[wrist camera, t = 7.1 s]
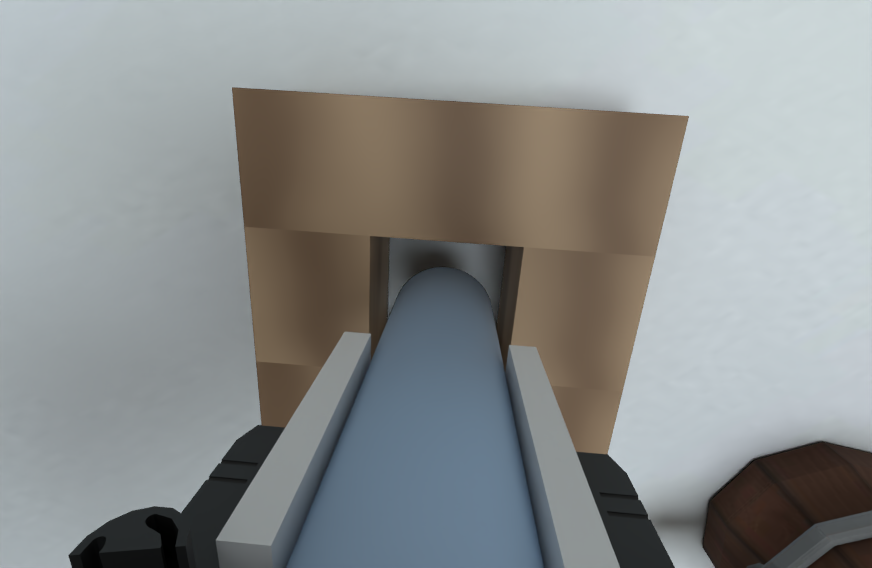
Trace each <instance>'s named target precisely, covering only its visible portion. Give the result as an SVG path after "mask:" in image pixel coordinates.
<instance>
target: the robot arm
mask: <svg viewBox="0 0 872 568" xmlns="http://www.w3.org/2000/svg"><path fill="white" fill-rule="evenodd" d="M370 362H371V334H368V333H356V332H344V334H343V335H342V337H341V338H340V340H339V342H338V343H337V345H336V346H335V348H334V350H333V351H332V353H331V355H330V356H329V358H328V359H327V361H326V363H325V364H324V366H323V367H322V369H321V371H320V372H319V374H318V376H317V377H316V379H315V380H314V382H313V384H312V385H311V387H310V389H309V390H308V392H307V393H306V395H305V397H304V398H303V400H302V401H301V403H300V405H299V406H298V408H297V410H296V411H295V413H294V414H293V416H292V418H291V419H290V421H289V422H288V424H287V426H286V427H274V426H263V425H257V426H256V427H254V428H253V429H252V430H250V431H249V432H247V433H246V434H245V435H243V436H242V437H240V438H239V439H238V440H236V442H235V443H234V444H233V445H232V447H231V448H230V449H229V451H228V452H227V453H226V455H225V456H224V457H223V459H222V462H221V464H220V463H219V464H218V465H217V467H216V468H215V469H214V471H213V472H212V473H211V475H210V476H209V480H206V481H205V482H204V484H203V485H202V486H201V488H200V489H199V490H198V492H197V493H196V494H195V496H194V497H193V498H192V500H191V501H190V502H189V504H188V505H187V506H186V507H185V509H184V510H183V511H182V513H180V512H178V511H176V510H175V509H173V508H165V507H155V506H154V507H149V508H144V509H139V510H134V511H131V512H129V513H127V514H124V515H122V516H120V517H117V518H115V519H113V520H110V521H108V522H107V523H106V524H104V525H103V526H101V527H100V528H98V529H97V530H95V531H94V532H92V533H91V534H89V535H88V536H87V537H86V538H85V539H84V540H83V541H82V542H81V543H80V544H79V545H78V546H77V547H76V548H75V549H74V550H73V551H72V552H71V553H70V554H69V559H70V562H71V565H72V568H286V566H287V564H288V561H289V559H290V556H291V554H292V552H293V549H294V547H295V544H296V542H297V539H298V537H299V535H300V532H301V530H302V527H303V525H304V522H305V520H306V518H307V515H308V513H309V510H310V508H311V505H312V503H313V501H314V498H315V496H316V493H317V491H318V488H319V486H320V484H321V481H322V479H323V476H324V474H325V471H326V469H327V467H328V464H329V462H330V459H331V457H332V454H333V452H334V450H335V447H336V445H337V442H338V440H339V437H340V435H341V433H342V430H343V428H344V425H345V423H346V420H347V418H348V416H349V413H350V411H351V408H352V406H353V403H354V401H355V399H356V396H357V394H358V391H359V389H360V386H361V384H362V382H363V379H364V377H365V374H366V372H367V369H368V367H369V365H370ZM505 375H506V380H507V385H508V390H509V395H510V400H511V404H512V409H513V414H514V419H515V424H516V429H517V434H518V439H519V444H520V449H521V454H522V459H523V464H524V469H525V474H526V479H527V484H528V489H529V493H530V498H531V503H532V508H533V513H534V518H535V523H536V528H537V533H538V538H539V543H540V548H541V553H542V558H543V563H544V568H675V567H674V565H673V563H672V561H671V559H670V557H669V555H668V553H667V551H666V550H665V548H664V546H663V544H662V542H661V540H660V538H659V536H658V534H657V532H656V530H655V528H654V526H653V524H652V522H651V520H648V514H647V512H646V510H645V508H644V506H643V505H642V503H641V501H640V500H638V495H637V493H636V491H635V489H634V487H633V485H632V483H631V481H630V479H629V477H628V475H627V473H626V472H625V471H624V470H623V469H622V468H621V467H620V466H619V465H618V464H617V463H616V462H615V461H614V460H613V459H612V458H611V457H610V456H609V455H608V454H597V453H586V452H576V451H575V448H574V445H573V443H572V440H571V437H570V435H569V432H568V430H567V427H566V424H565V422H564V419H563V416H562V414H561V411H560V409H559V406H558V403H557V401H556V398H555V395H554V393H553V390H552V388H551V385H550V382H549V380H548V377H547V374H546V372H545V369H544V367H543V364H542V361H541V359H540V356H539V354H538V351H537V348H536V347H529V346H517V345H509V349H508V357H507V364H506V372H505Z"/></svg>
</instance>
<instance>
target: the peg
mask: <svg viewBox="0 0 872 568" xmlns="http://www.w3.org/2000/svg"><path fill="white" fill-rule="evenodd" d="M286 568H544V563H543V558H542V553H541V548H540V543H539V538H538V533H537V528H536V523H535V518H534V513H533V508H532V503H531V498H530V493H529V489H528V484H527V479H526V474H525V469H524V464H523V459H522V454H521V449H520V444H519V439H518V434H517V429H516V424H515V419H514V414H513V409H512V404H511V400H510V395H509V390H508V385H507V380H506V375H505V370H504V365H503V360H502V355H501V350H500V345H499V340H498V335H497V330H496V325H495V320H494V316H493V311H492V306H491V302H490V299H489V296H488V294H487V292H486V290H485V289H484V287H483V286H482V285H481V284H480V283H479V282H478V281H477V280H476V279H475V278H474V277H472V276H471V275H469V274H467V273H466V272H463V271H461V270H458V269H454V268H448V267H438V268H431V269H427V270H425V271H422V272H420V273H418V274H416V275H415V276H413V277H412V278H411V279H409V280H408V281H407V282H406V283H405V285H404V286H403V287H402V289H401V290H400V292H399V294H398V296H397V299H396V301H395V304H394V306H393V309H392V311H391V313H390V316H389V318H388V321H387V323H386V326H385V328H384V331H383V333H382V335H381V338H380V340H379V343H378V345H377V348H376V350H375V352H374V355H373V357H372V360H371V362H370V365H369V367H368V369H367V372H366V374H365V377H364V379H363V382H362V384H361V386H360V389H359V391H358V394H357V396H356V399H355V401H354V403H353V406H352V408H351V411H350V413H349V416H348V418H347V420H346V423H345V425H344V428H343V430H342V433H341V435H340V437H339V440H338V442H337V445H336V447H335V450H334V452H333V454H332V457H331V459H330V462H329V464H328V467H327V469H326V471H325V474H324V476H323V479H322V481H321V484H320V486H319V488H318V491H317V493H316V496H315V498H314V501H313V503H312V505H311V508H310V510H309V513H308V515H307V518H306V520H305V522H304V525H303V527H302V530H301V532H300V535H299V537H298V539H297V542H296V544H295V547H294V549H293V552H292V554H291V556H290V559H289V561H288V564H287V566H286Z"/></svg>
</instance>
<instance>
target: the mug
mask: <svg viewBox="0 0 872 568" xmlns="http://www.w3.org/2000/svg"><path fill="white" fill-rule="evenodd" d="M703 548H704V550H705V552H706V553H707V555H708V556H709V558H710V560H711V561H712V563H713V565H714V566H715V568H872V453H868V452H864V451H859V450H855V449H851V448H847V447H842V446H838V445H834V444H830V443H825V442H821V443H817V444H813V445H809V446H806V447H802V448H798V449H795V450H791V451H787V452H783V453H780V454H776V455H772V456H769V457H765V458H761V459H757V460H754V461H753V462H752V463H751V464H750V465H749V466H748V467H747V468H746V469H745V470H743V471H742V472H741V473H740V474H739V475H738V476H737V477H736V478H735V479H734V480H732V481H731V482H730V483H729V484H728V485H727V486H726V487H725V488H724V489H723V490H722V491H720V492H719V493H718V494H717V495H716V496H715V497H714V498H713V499H712V500H711V501H710V502H709V509H708V515H707V522H706V529H705V535H704V542H703Z"/></svg>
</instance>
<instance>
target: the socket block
mask: <svg viewBox="0 0 872 568" xmlns="http://www.w3.org/2000/svg"><path fill="white" fill-rule="evenodd" d="M232 93H233V105H234V116H235V127H236V139H237V150H238V161H239V173H240V184H241V195H242V207H243V218H244V229H245V241H246V252H247V263H248V275H249V286H250V298H251V309H252V320H253V332H254V343H255V354H256V366H257V377H258V388H259V400H260V411H261V422H262V425H263V426H274V427H286V426H287V424H288V422H289V421H290V419H291V418H292V416H293V414H294V413H295V411H296V410H297V408H298V406H299V405H300V403H301V401H302V400H303V398H304V397H305V395H306V393H307V392H308V390H309V389H310V387H311V385H312V384H313V382H314V380H315V379H316V377H317V376H318V374H319V372H320V371H321V369H322V367H323V366H324V364H325V363H326V361H327V359H328V358H329V356H330V355H331V353H332V351H333V350H334V348H335V346H336V345H337V343H338V342H339V340H340V338H341V337H342V335H343V334H344V332H356V333H368V334H371V360H372V357H373V355H374V352H375V350H376V348H377V345H378V343H379V340H380V338H381V335H382V333H383V331H384V328H385V326H386V323H387V316H388V279H389V241H390V237H392V238H405V239H419V240H433V241H447V242H460V243H474V244H488V245H502V246H506V253H505V261H504V269H503V278H502V286H501V294H500V302H499V311H498V319H497V327H496V330H497V335H498V340H499V345H500V350H501V355H502V360H503V365H504V370H505V372H506V364H507V357H508V349H509V345H517V346H529V347H536V348H537V351H538V354H539V356H540V359H541V361H542V364H543V367H544V369H545V372H546V374H547V377H548V380H549V382H550V385H551V388H552V390H553V393H554V395H555V398H556V401H557V403H558V406H559V409H560V411H561V414H562V416H563V419H564V422H565V424H566V427H567V430H568V432H569V435H570V437H571V440H572V443H573V445H574V448H575V451H576V452H586V453H597V454H607V453H608V449H609V445H610V441H611V437H612V433H613V428H614V424H615V420H616V416H617V412H618V408H619V404H620V399H621V395H622V391H623V387H624V383H625V379H626V375H627V370H628V366H629V362H630V358H631V354H632V350H633V346H634V341H635V337H636V333H637V329H638V325H639V321H640V317H641V313H642V308H643V304H644V300H645V296H646V292H647V288H648V284H649V279H650V275H651V271H652V267H653V263H654V259H655V255H656V250H657V246H658V242H659V238H660V234H661V230H662V226H663V221H664V217H665V213H666V209H667V205H668V201H669V197H670V192H671V188H672V184H673V180H674V176H675V172H676V168H677V163H678V159H679V155H680V151H681V147H682V143H683V139H684V134H685V130H686V126H687V122H688V118H689V116H678V115H662V114H646V113H630V112H615V111H599V110H583V109H567V108H551V107H535V106H519V105H503V104H487V103H472V102H456V101H440V100H424V99H408V98H392V97H376V96H360V95H344V94H329V93H313V92H297V91H281V90H265V89H249V88H233V87H232Z"/></svg>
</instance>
